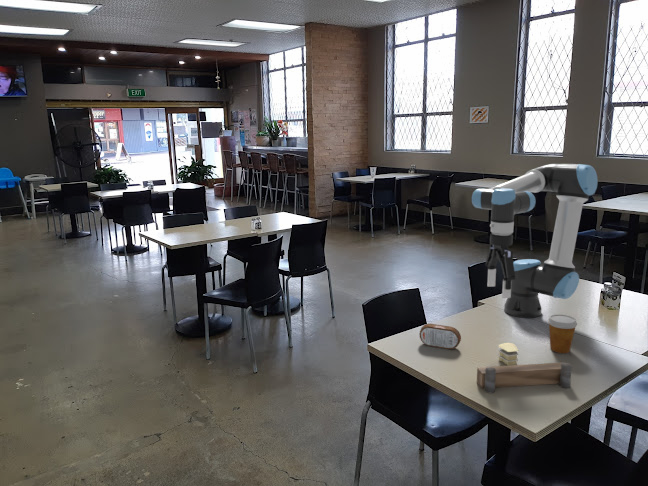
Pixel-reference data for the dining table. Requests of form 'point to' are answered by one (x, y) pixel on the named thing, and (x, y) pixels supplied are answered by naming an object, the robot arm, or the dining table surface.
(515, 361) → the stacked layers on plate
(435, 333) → the tin
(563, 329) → the disposable coffee cup
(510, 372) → the bar
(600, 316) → the dining table surface
